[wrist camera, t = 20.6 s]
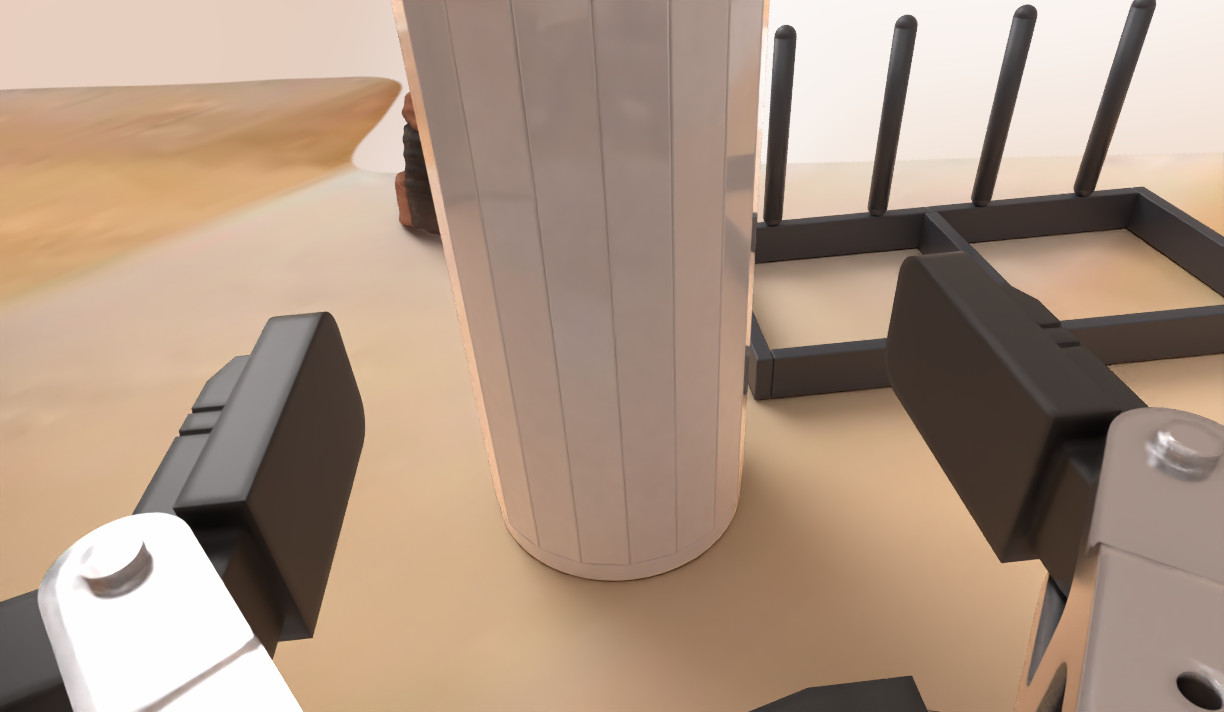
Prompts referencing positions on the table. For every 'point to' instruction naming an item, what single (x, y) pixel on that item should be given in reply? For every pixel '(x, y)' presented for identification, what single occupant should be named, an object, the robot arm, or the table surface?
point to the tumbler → (599, 258)
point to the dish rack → (980, 222)
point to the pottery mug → (414, 179)
